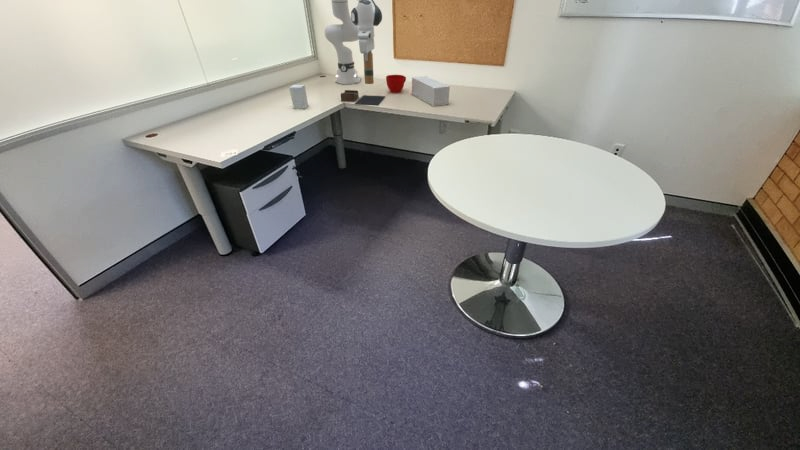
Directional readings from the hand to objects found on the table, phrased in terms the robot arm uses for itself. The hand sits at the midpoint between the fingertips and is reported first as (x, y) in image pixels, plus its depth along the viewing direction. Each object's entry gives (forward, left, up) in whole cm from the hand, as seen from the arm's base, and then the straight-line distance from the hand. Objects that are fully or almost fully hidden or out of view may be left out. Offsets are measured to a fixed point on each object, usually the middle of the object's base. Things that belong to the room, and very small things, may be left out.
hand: (368, 59), depth 201 cm
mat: (0, 0, -24) cm, 24 cm away
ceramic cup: (-26, +13, -25) cm, 38 cm away
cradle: (0, -14, -24) cm, 28 cm away
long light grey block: (-10, +38, -24) cm, 46 cm away
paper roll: (0, 0, -5) cm, 5 cm away
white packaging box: (+22, -39, -25) cm, 51 cm away
